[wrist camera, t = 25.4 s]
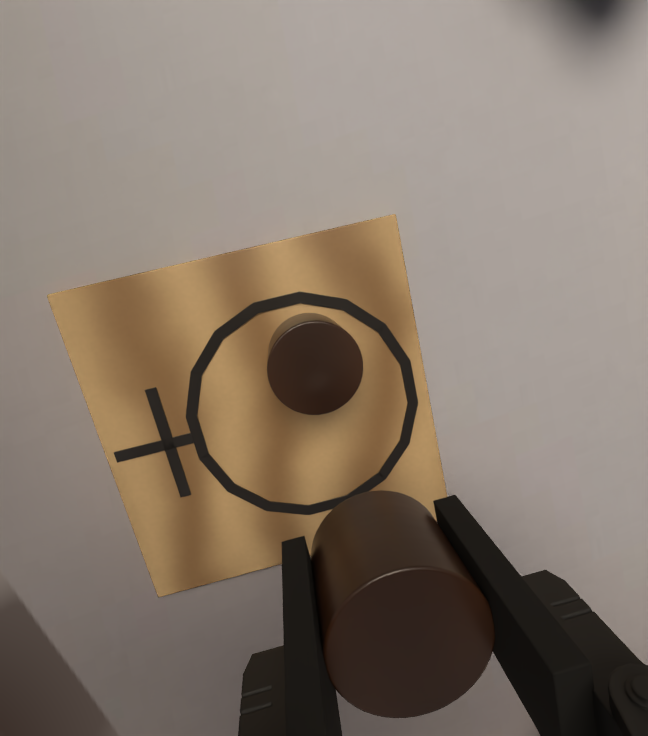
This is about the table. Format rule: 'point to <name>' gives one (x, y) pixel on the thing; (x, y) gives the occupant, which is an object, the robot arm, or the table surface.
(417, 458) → the drawing board
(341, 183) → the table surface
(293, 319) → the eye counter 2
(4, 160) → the table surface
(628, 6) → the table surface
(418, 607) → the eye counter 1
